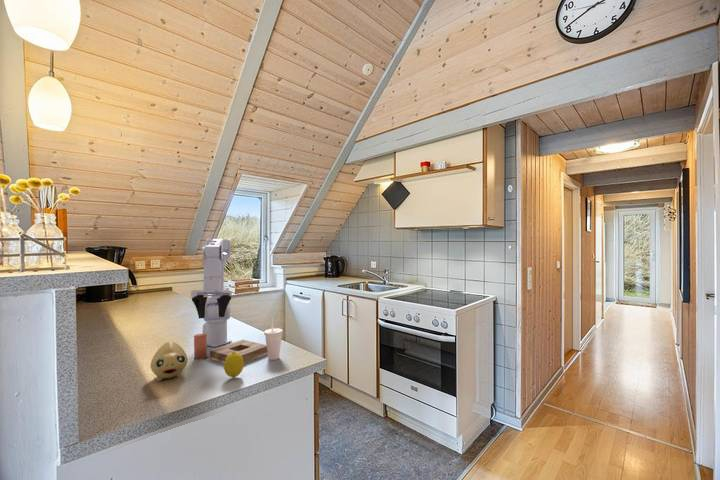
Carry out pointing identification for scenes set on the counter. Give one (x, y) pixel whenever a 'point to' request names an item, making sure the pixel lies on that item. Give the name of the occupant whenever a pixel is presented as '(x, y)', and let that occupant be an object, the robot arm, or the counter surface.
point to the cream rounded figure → (169, 361)
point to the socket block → (239, 351)
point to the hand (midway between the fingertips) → (211, 317)
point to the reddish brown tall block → (200, 346)
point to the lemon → (233, 364)
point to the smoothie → (273, 342)
